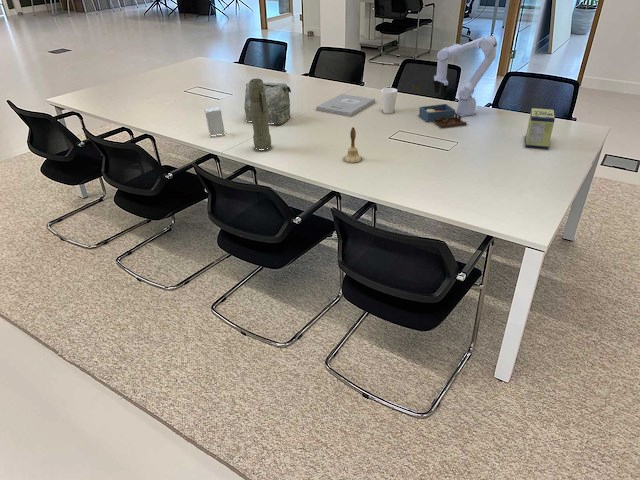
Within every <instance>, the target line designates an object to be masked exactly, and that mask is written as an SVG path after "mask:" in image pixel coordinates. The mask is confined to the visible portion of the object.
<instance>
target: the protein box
mask: <svg viewBox="0 0 640 480" xmlns="http://www.w3.org/2000/svg"><path fill="white" fill-rule="evenodd" d="M555 119H556V118H555V111H554V108H542V107H531V110H530V113H529V118H528V123H527V128H526V133H525V148H527V149H529V148H530V149H540V150H549V146H550V142H551V137H552V133H553V129H554V124H555Z"/></svg>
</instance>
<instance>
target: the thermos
mask: <svg viewBox="0 0 640 480" xmlns="http://www.w3.org/2000/svg"><path fill="white" fill-rule="evenodd" d="M249 82H250V83H249ZM249 82H248V83H249V93H250V113H251V117H252V122H253V123H252V129H253V136H252V139H253V146H254V150H255V151H256V152H268V151H271V149H272V137H271V134H270V127H269V125H270V124H268V105H267V102H266V95H265V87H264V83H265V82H264V81H263V79H261V78H252V79H250V80H249ZM256 148H257V149H256ZM267 148H268V149H267ZM259 149H264V150H259Z"/></svg>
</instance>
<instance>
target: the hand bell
mask: <svg viewBox="0 0 640 480" xmlns="http://www.w3.org/2000/svg"><path fill="white" fill-rule="evenodd" d="M349 132H350V133H349V134H350V147H349V148H348V149H347V153H346V155H345V156H344V158H343V160H344V161H345V162H347V163H351V164H353V163H358V162H361V161H362V157H361V156H360V154H359V151H358V148H357V147H356V143H355V142H356V141H355V140H356V135H357V132H356V129H355V127H354V126H352V127H351V129H350V131H349Z"/></svg>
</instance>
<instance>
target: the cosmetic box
mask: <svg viewBox="0 0 640 480" xmlns="http://www.w3.org/2000/svg"><path fill="white" fill-rule="evenodd" d="M204 114H205V119H206V125H207V129H208V134H209V133H210V134H209V136H210V135H216V136H210V138H211V139H213V138H217V137H223V136H226V132H225V127H224V121H223V115H222V109H221V108H220V107H219V106H215V107H209V108H206V109H205V108H204ZM224 133H225V134H224ZM217 134H222V135H217Z"/></svg>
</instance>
